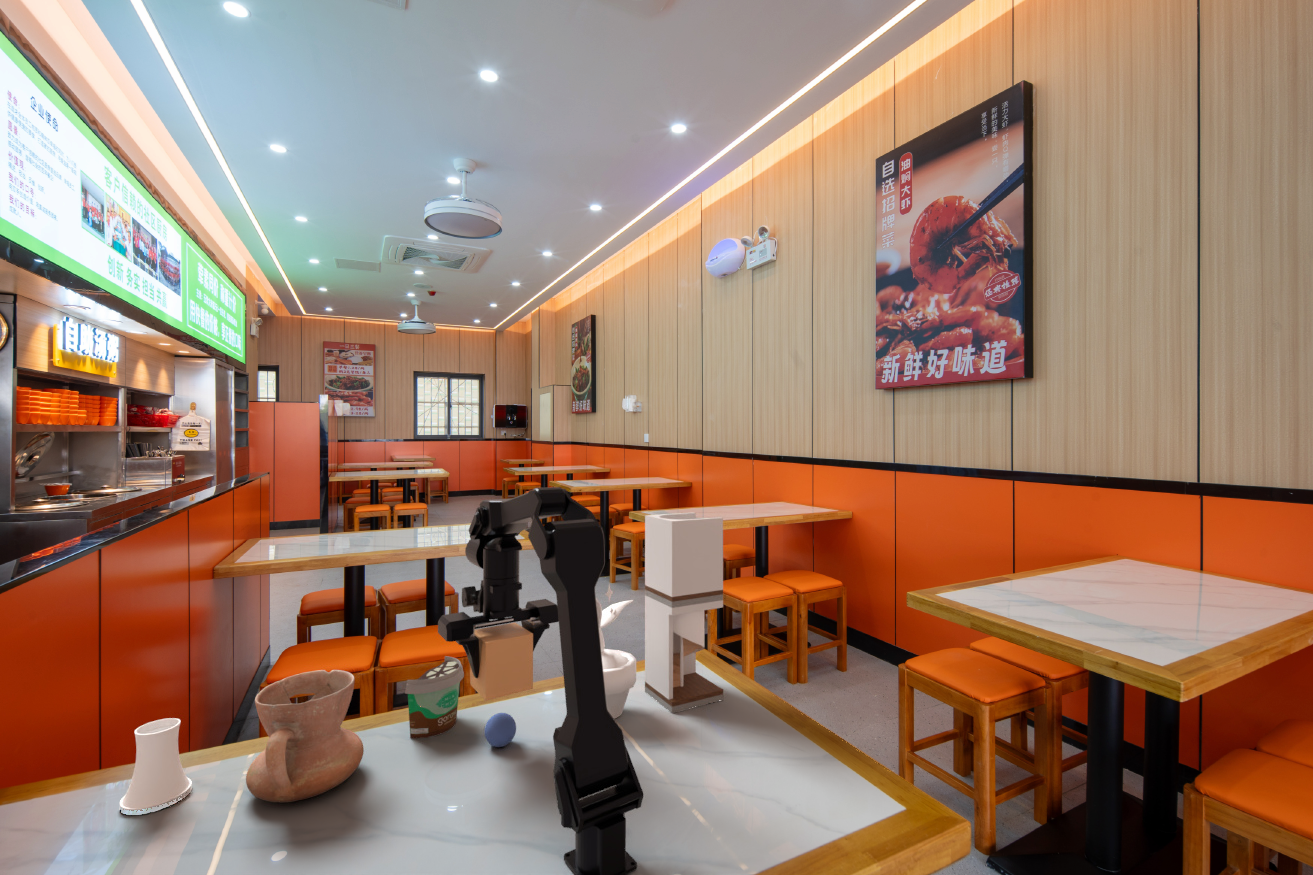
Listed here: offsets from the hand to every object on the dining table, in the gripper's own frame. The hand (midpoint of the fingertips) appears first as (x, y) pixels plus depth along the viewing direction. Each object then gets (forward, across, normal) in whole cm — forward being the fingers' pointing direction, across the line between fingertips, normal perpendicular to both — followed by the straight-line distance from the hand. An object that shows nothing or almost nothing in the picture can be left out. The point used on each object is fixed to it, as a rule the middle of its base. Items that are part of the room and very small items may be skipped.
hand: (500, 671), depth 95 cm
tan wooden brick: (+2, 0, 0) cm, 2 cm away
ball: (+9, 0, 0) cm, 9 cm away
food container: (+12, +6, -12) cm, 18 cm away
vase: (+12, +44, -13) cm, 47 cm away
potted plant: (+12, -20, 0) cm, 23 cm away
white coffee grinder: (+12, -36, +2) cm, 38 cm away
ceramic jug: (+12, +27, -5) cm, 30 cm away
